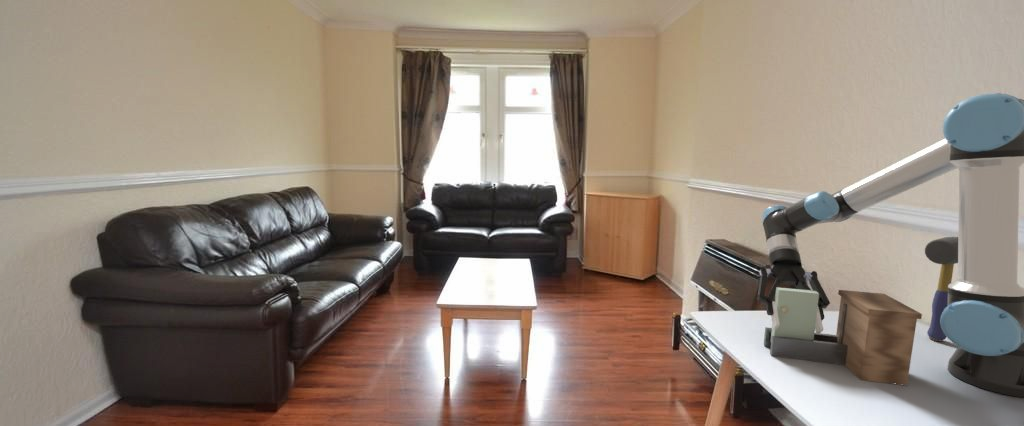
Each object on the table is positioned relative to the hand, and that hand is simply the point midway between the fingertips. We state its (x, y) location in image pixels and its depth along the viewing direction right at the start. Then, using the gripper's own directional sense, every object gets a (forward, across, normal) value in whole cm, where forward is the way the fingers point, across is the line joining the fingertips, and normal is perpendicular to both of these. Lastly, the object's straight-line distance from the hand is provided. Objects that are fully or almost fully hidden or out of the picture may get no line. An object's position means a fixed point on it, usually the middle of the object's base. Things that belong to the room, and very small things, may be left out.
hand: (797, 329), depth 111 cm
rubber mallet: (-13, -44, -24) cm, 52 cm away
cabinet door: (+2, 0, -6) cm, 7 cm away
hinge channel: (+3, -3, -8) cm, 9 cm away
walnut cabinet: (+6, -16, -5) cm, 17 cm away
